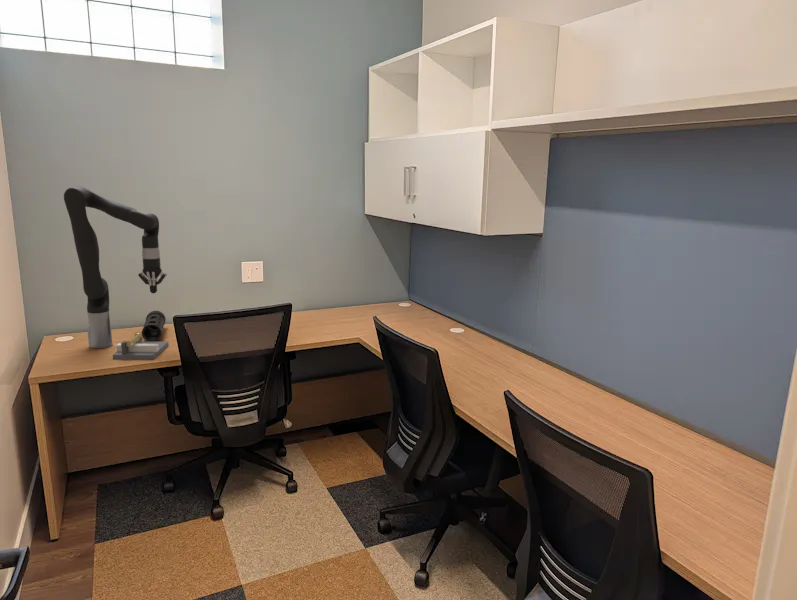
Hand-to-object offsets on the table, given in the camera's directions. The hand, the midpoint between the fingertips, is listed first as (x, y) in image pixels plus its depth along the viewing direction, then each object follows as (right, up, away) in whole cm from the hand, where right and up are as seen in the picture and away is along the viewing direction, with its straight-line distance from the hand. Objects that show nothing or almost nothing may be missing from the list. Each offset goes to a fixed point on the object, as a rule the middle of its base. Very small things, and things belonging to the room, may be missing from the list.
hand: (153, 292), depth 267 cm
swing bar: (-6, -23, -6) cm, 24 cm away
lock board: (-4, -28, -3) cm, 28 cm away
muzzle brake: (-9, -22, +22) cm, 32 cm away
